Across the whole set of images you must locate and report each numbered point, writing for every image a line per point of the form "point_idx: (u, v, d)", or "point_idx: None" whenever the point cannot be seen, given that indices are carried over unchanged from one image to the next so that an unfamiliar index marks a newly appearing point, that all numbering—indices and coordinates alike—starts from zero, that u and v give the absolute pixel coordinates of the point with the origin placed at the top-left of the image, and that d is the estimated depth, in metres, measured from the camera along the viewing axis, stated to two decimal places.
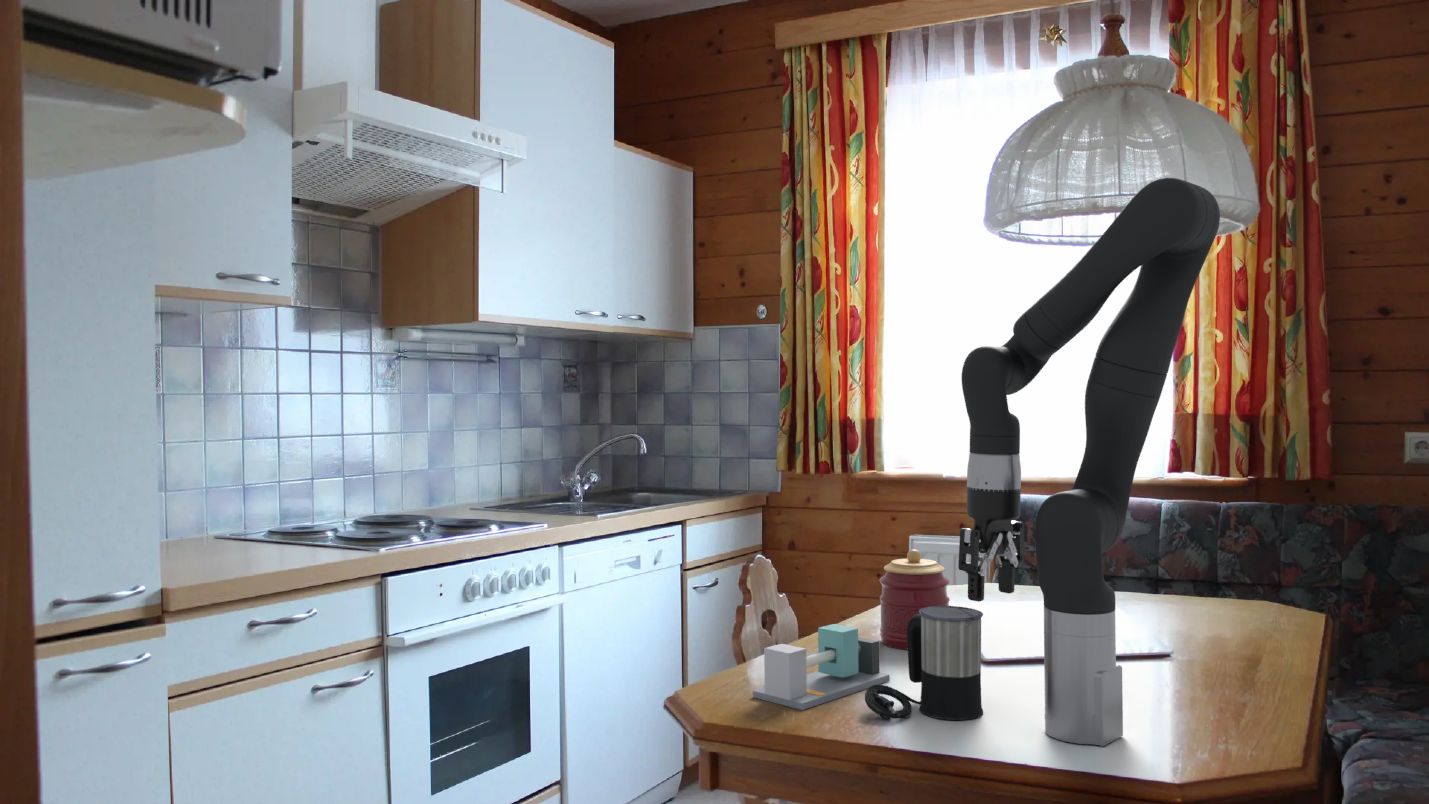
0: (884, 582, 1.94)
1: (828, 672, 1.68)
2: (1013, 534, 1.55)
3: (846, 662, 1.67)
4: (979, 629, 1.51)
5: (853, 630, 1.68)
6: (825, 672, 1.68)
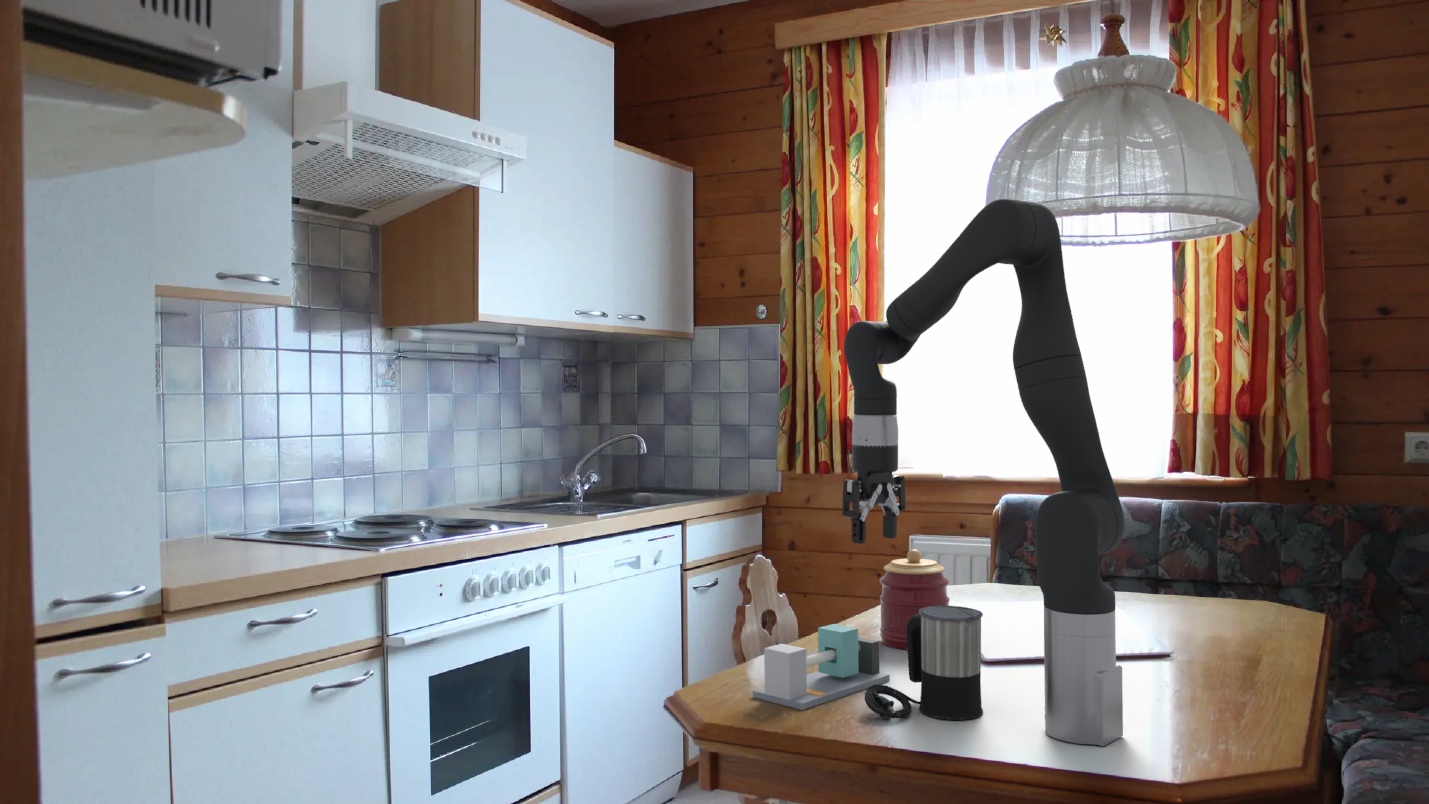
0: (884, 582, 1.94)
1: (828, 672, 1.68)
2: (895, 486, 1.76)
3: (846, 662, 1.67)
4: (979, 629, 1.51)
5: (853, 630, 1.68)
6: (825, 672, 1.68)
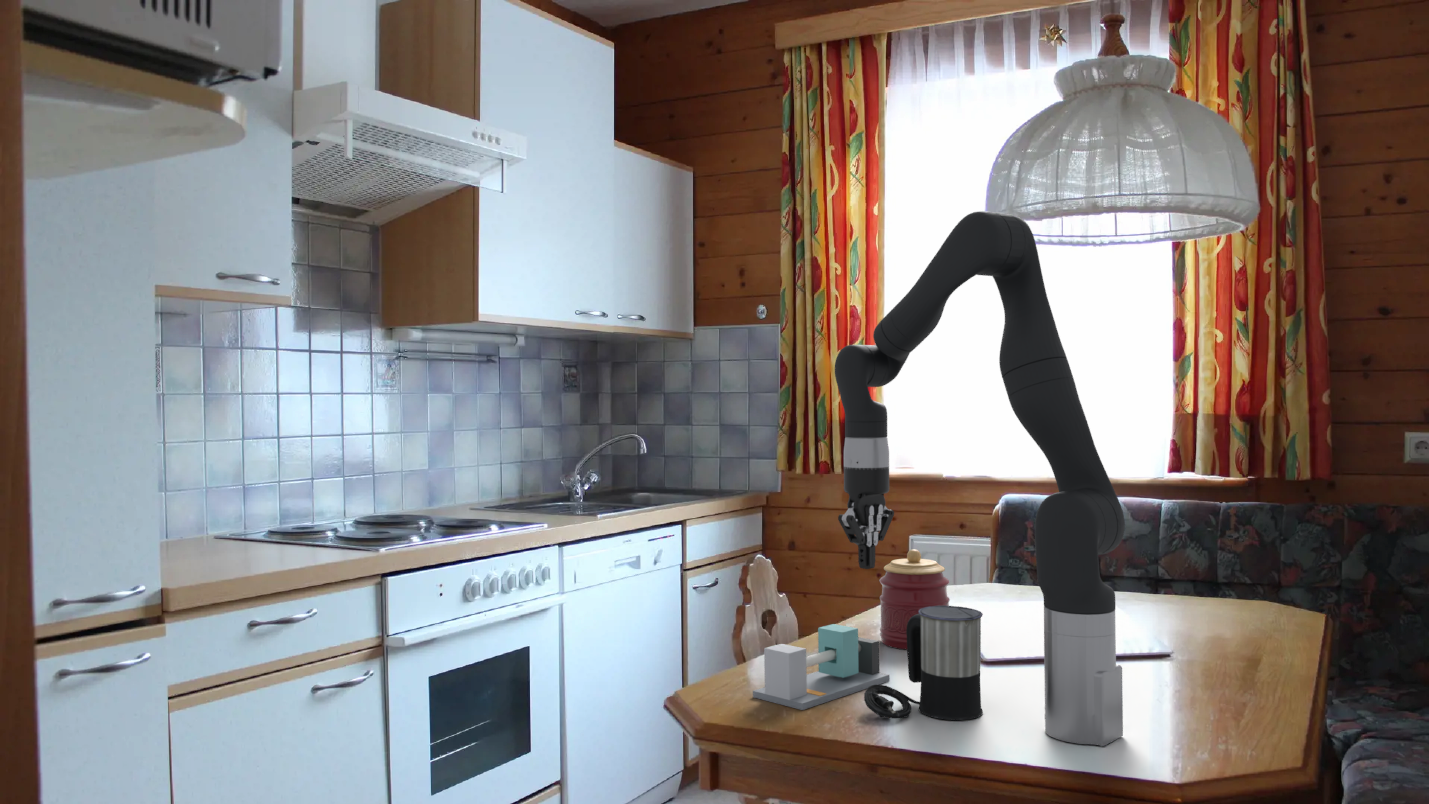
0: (884, 582, 1.94)
1: (828, 672, 1.68)
2: (882, 515, 1.77)
3: (846, 662, 1.67)
4: (979, 629, 1.51)
5: (853, 630, 1.68)
6: (825, 672, 1.68)
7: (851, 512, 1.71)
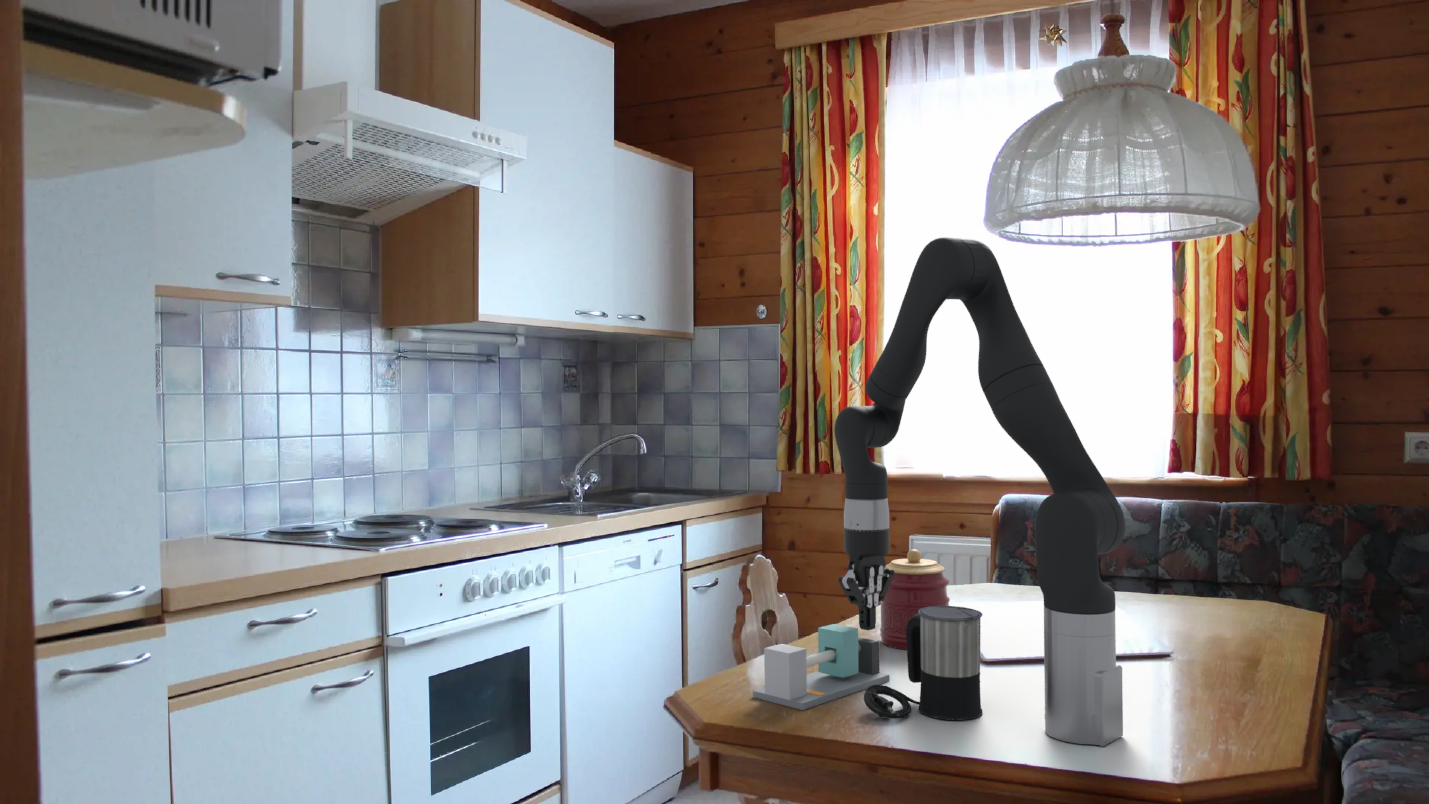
0: None
1: (828, 672, 1.68)
2: (883, 575, 1.77)
3: (846, 662, 1.67)
4: (978, 629, 1.51)
5: (853, 630, 1.68)
6: (825, 672, 1.68)
7: (851, 574, 1.71)
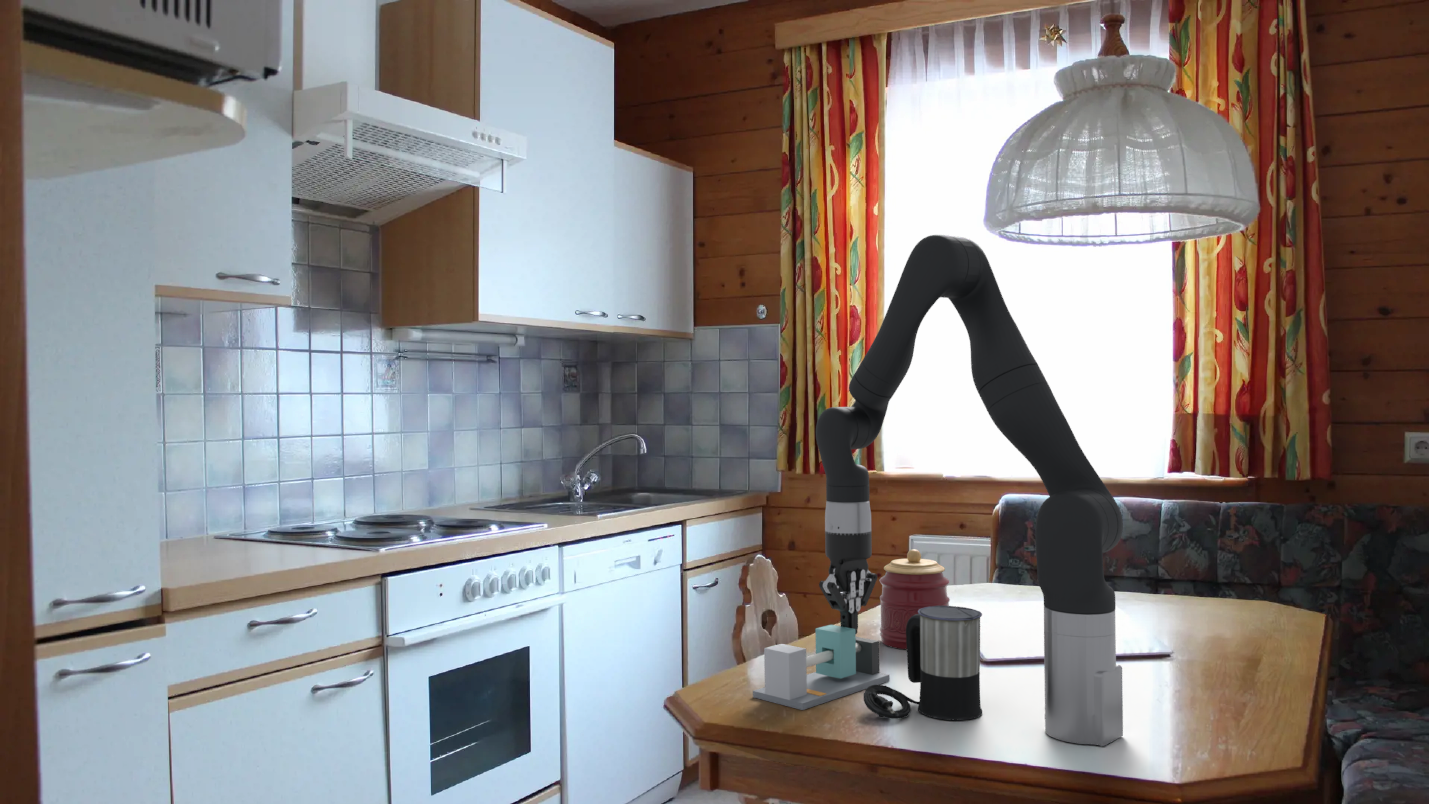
0: (884, 582, 1.94)
1: (825, 673, 1.67)
2: (865, 579, 1.74)
3: (843, 663, 1.66)
4: (978, 629, 1.51)
5: (850, 631, 1.67)
6: (822, 673, 1.68)
7: (832, 579, 1.68)
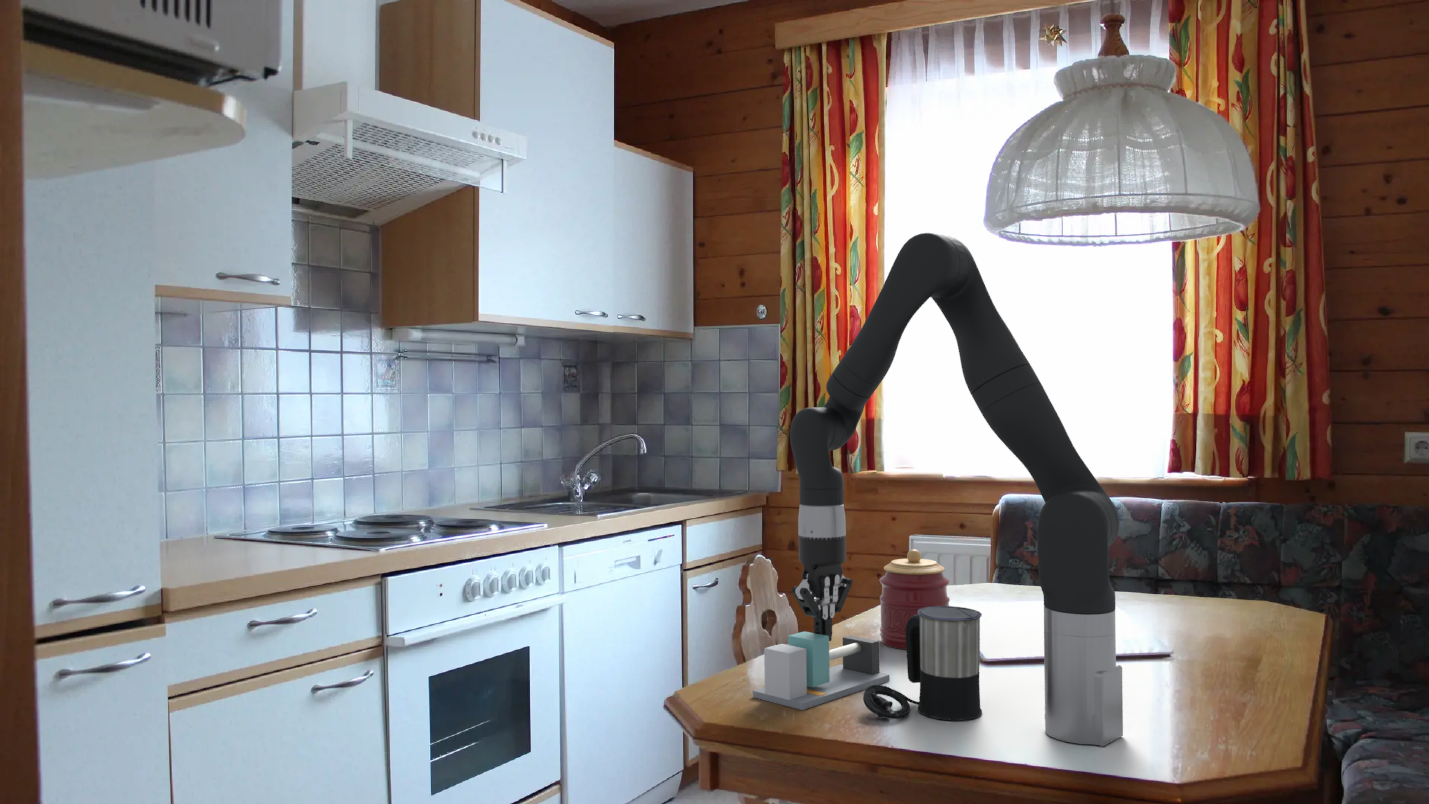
0: (884, 582, 1.94)
1: None
2: (840, 584, 1.69)
3: (816, 671, 1.61)
4: (978, 629, 1.51)
5: (824, 638, 1.63)
6: None
7: (805, 584, 1.63)
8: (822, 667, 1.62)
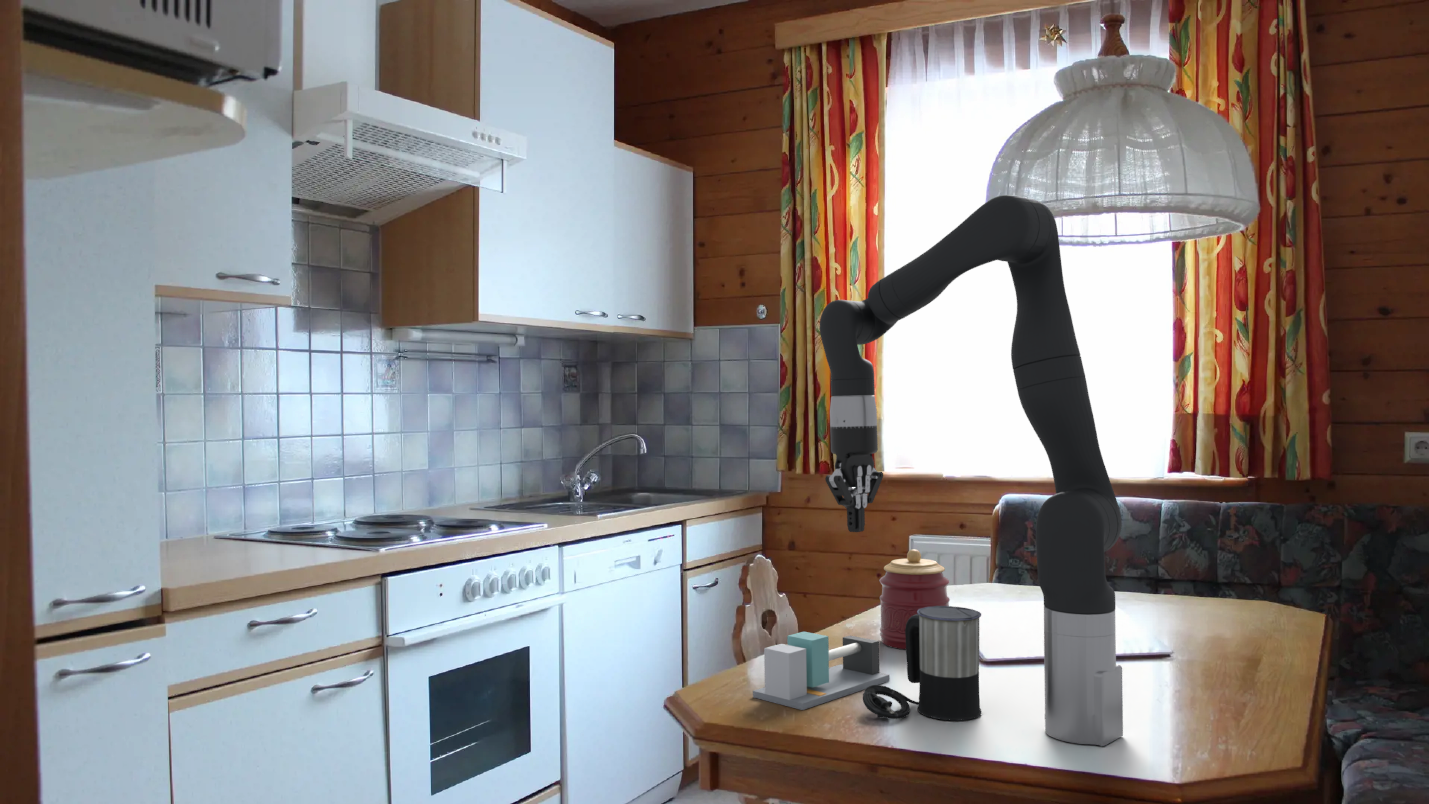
0: (884, 582, 1.94)
1: None
2: (871, 477, 1.71)
3: (816, 671, 1.61)
4: (977, 629, 1.51)
5: (823, 638, 1.63)
6: None
7: (839, 472, 1.65)
8: (821, 667, 1.62)
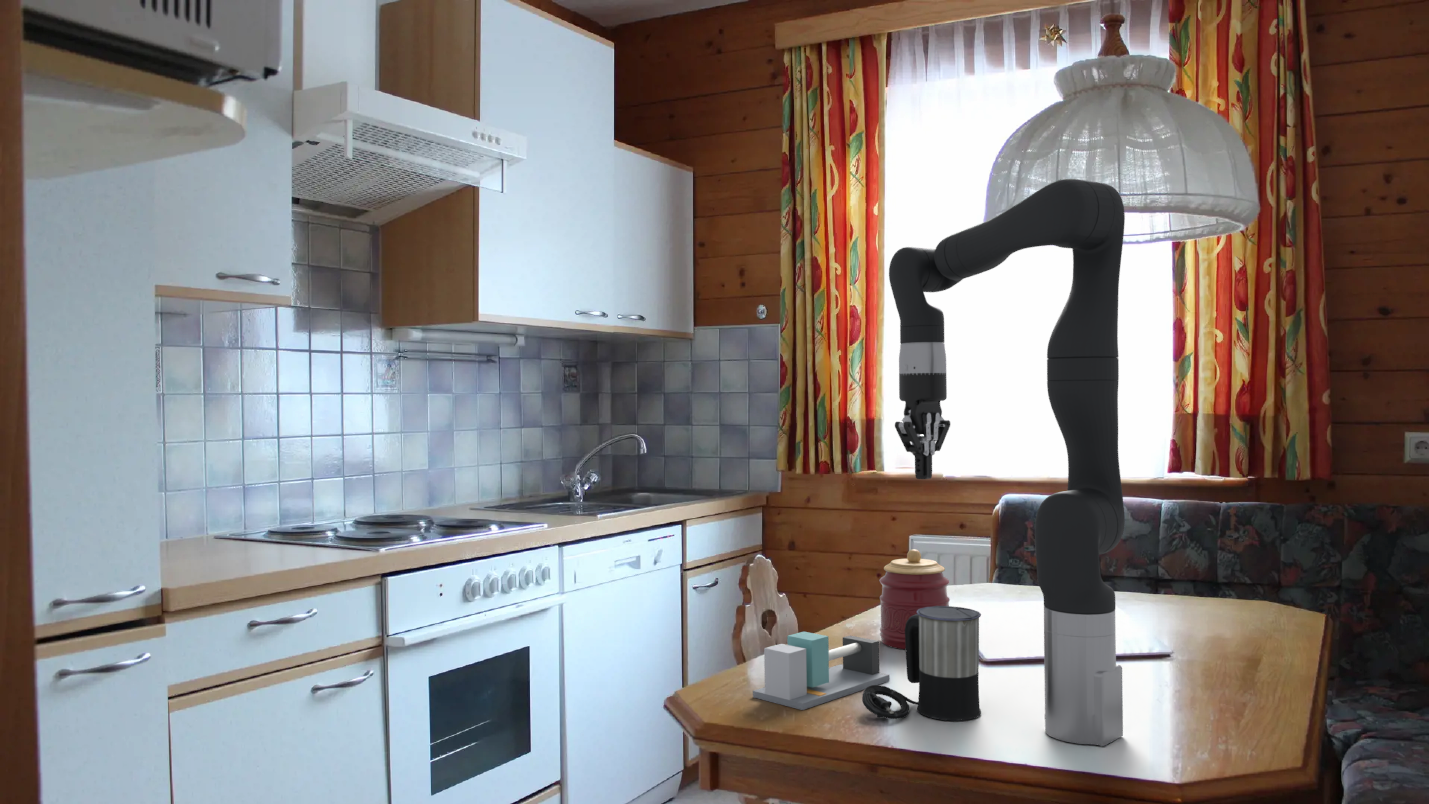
0: (884, 582, 1.94)
1: None
2: (939, 425, 1.72)
3: (816, 671, 1.61)
4: (977, 629, 1.51)
5: (823, 638, 1.63)
6: None
7: (908, 419, 1.65)
8: (821, 667, 1.62)
